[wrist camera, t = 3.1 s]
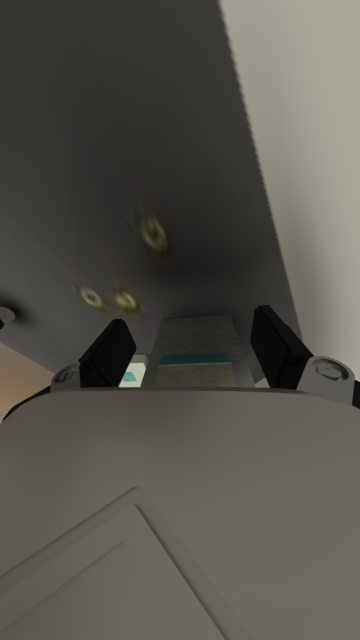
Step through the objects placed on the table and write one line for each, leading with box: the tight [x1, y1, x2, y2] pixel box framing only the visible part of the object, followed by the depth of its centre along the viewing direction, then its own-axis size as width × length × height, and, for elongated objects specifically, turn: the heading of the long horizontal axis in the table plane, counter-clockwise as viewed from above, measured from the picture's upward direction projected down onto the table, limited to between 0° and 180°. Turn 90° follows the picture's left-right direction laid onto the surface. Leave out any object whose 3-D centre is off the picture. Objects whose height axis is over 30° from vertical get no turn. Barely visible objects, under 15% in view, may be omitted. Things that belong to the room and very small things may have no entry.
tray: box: [119, 354, 149, 387], centre depth 31 cm, size 12×12×2 cm
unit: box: [140, 314, 255, 388], centre depth 17 cm, size 8×11×17 cm
